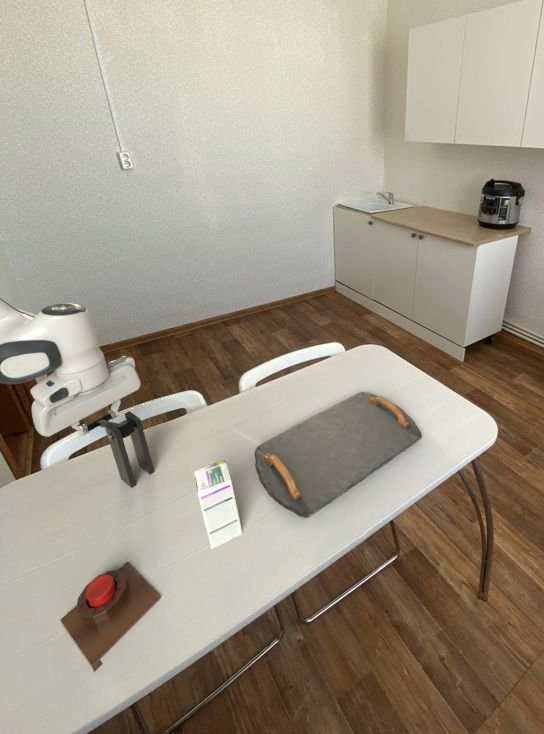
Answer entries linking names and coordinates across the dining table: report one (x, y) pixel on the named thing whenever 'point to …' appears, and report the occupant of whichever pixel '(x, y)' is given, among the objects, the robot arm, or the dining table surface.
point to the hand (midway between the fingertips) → (99, 425)
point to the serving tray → (333, 452)
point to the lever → (123, 426)
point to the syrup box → (218, 503)
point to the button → (100, 590)
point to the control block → (109, 615)
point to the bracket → (121, 452)
